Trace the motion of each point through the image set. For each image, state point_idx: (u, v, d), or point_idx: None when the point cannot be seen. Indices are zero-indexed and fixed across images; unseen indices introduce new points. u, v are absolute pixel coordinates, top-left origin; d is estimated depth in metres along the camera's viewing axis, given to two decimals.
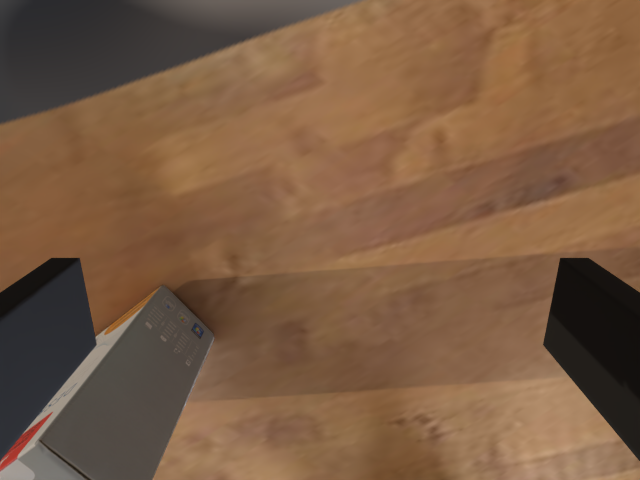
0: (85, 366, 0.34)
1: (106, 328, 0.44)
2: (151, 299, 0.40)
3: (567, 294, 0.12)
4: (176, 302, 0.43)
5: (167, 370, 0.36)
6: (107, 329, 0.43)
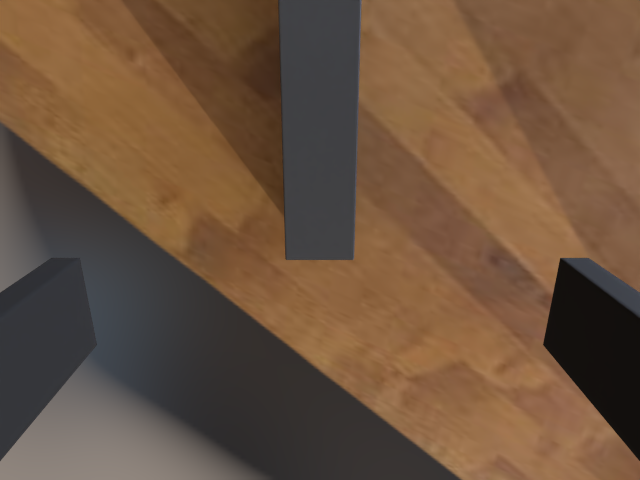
0: None
1: None
2: None
3: (567, 294, 0.12)
4: None
5: None
6: None
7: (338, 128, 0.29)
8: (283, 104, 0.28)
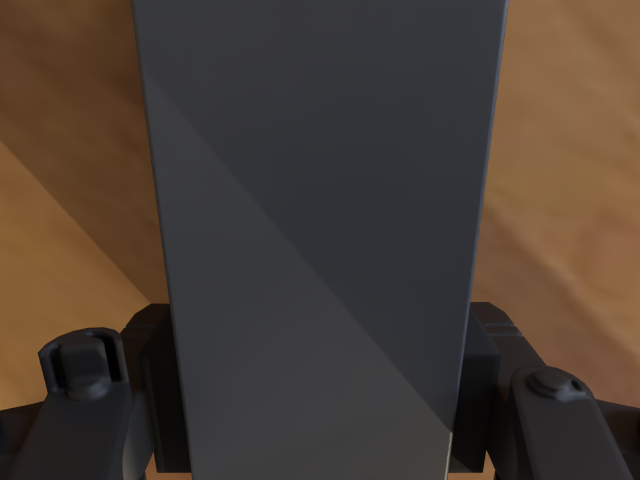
0: None
1: None
2: None
3: None
4: None
5: None
6: None
7: (396, 287, 0.07)
8: (163, 196, 0.07)
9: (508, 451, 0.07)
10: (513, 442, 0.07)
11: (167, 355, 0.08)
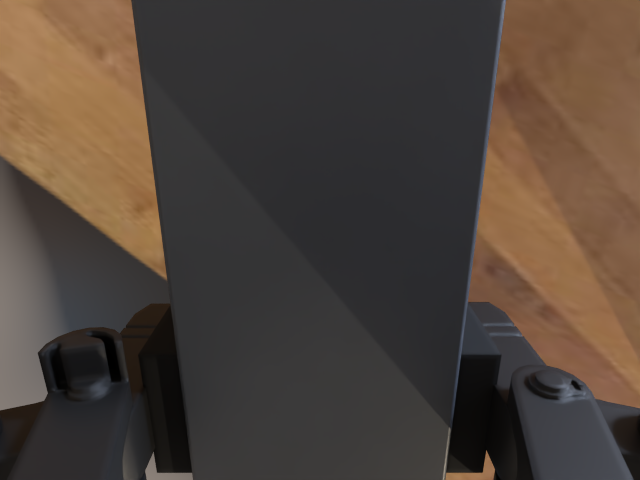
0: None
1: None
2: None
3: None
4: None
5: None
6: None
7: (395, 287, 0.07)
8: (164, 197, 0.07)
9: (508, 451, 0.07)
10: (513, 442, 0.07)
11: (167, 355, 0.08)
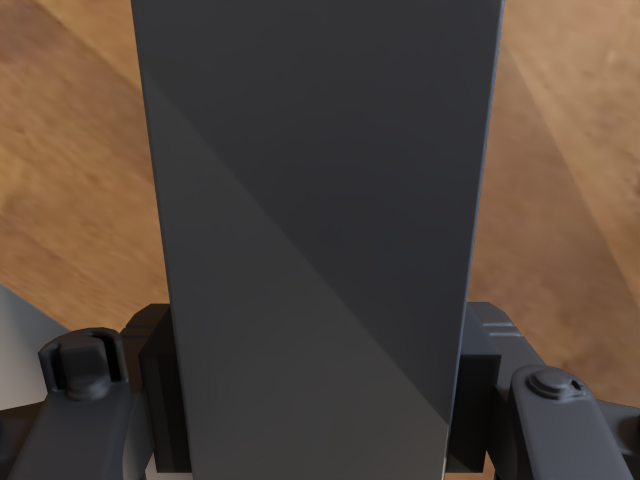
0: None
1: None
2: None
3: None
4: None
5: None
6: None
7: (394, 287, 0.07)
8: (164, 198, 0.07)
9: (508, 451, 0.07)
10: (513, 442, 0.07)
11: (167, 355, 0.08)
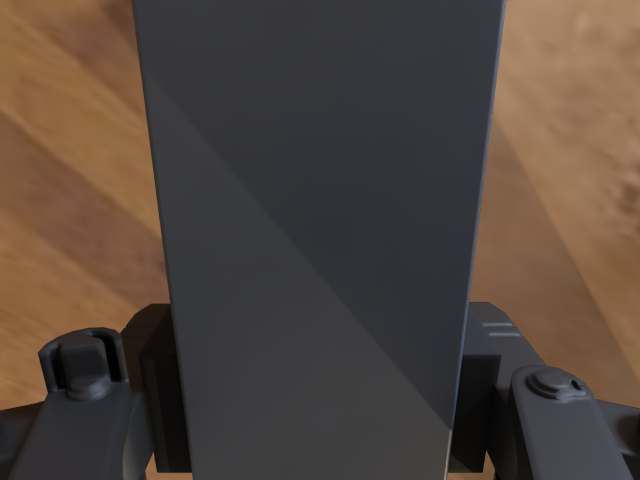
0: None
1: None
2: None
3: None
4: None
5: None
6: None
7: (396, 286, 0.07)
8: (164, 196, 0.07)
9: (508, 451, 0.07)
10: (513, 442, 0.07)
11: (167, 355, 0.08)
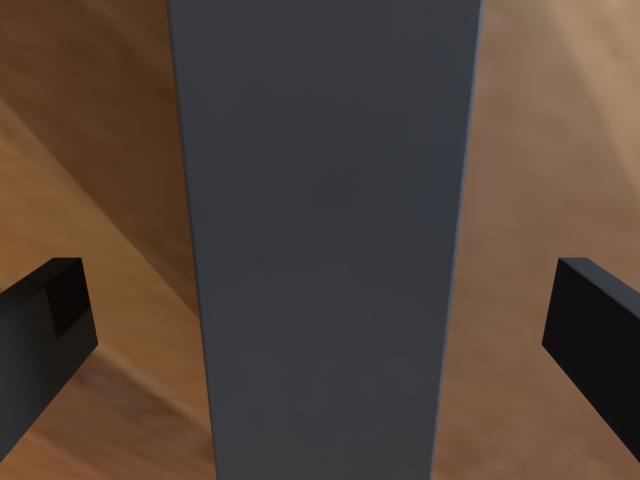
0: None
1: None
2: None
3: (565, 293, 0.12)
4: None
5: None
6: None
7: (391, 243, 0.08)
8: (190, 162, 0.08)
9: None
10: None
11: None
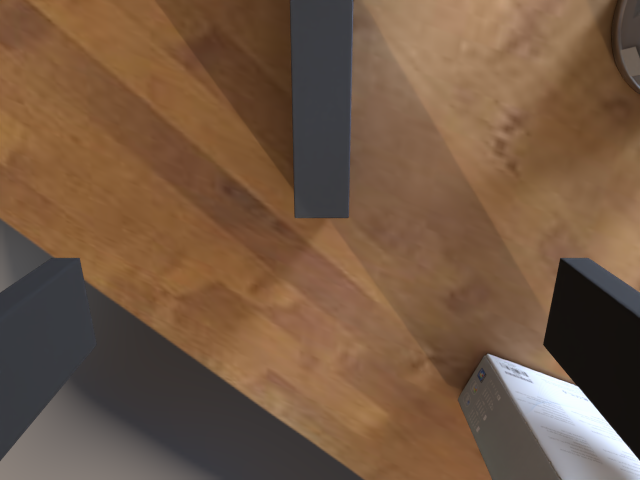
0: None
1: None
2: (465, 417, 0.53)
3: (567, 294, 0.12)
4: (466, 391, 0.54)
5: (501, 424, 0.46)
6: None
7: (336, 112, 0.37)
8: (293, 94, 0.37)
9: None
10: None
11: None
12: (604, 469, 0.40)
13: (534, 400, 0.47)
